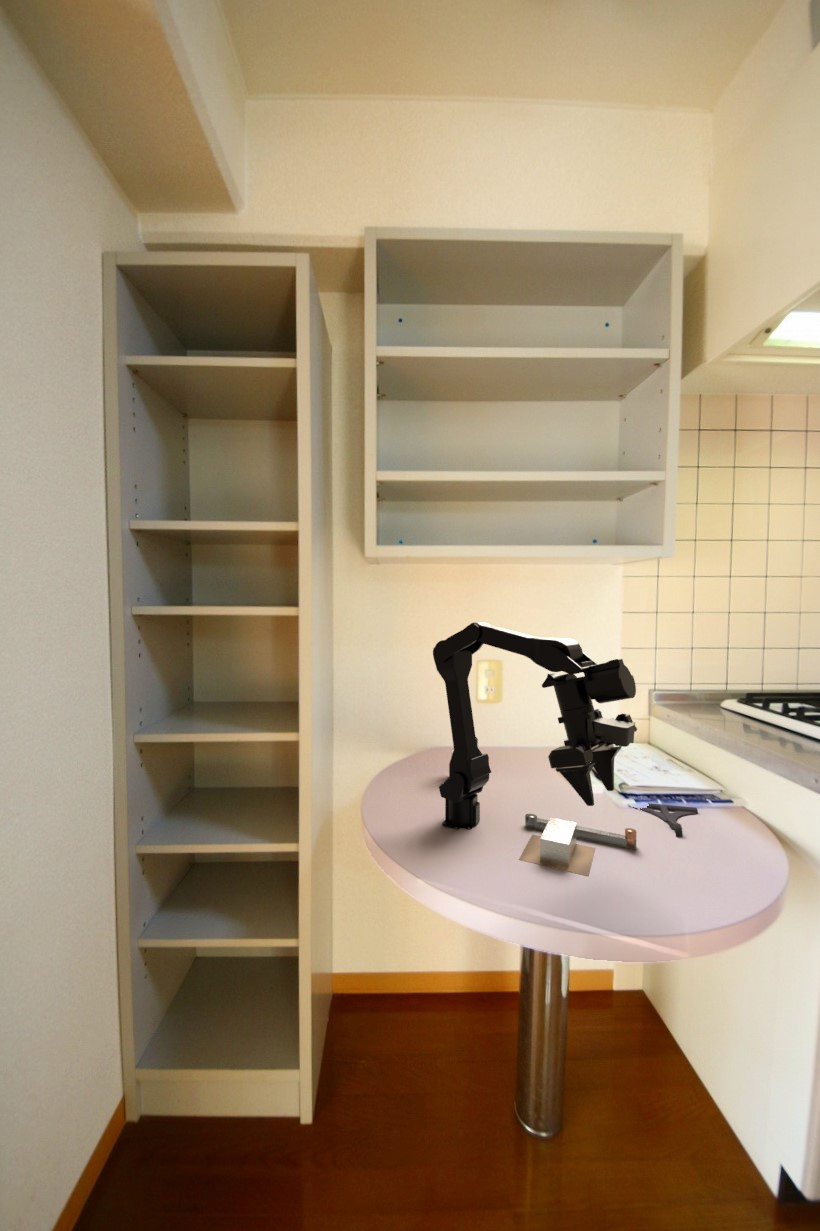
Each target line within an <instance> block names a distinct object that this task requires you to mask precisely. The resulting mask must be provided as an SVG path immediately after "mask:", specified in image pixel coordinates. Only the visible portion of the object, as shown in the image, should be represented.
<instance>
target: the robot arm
mask: <svg viewBox="0 0 820 1231" xmlns="http://www.w3.org/2000/svg"><path fill="white" fill-rule="evenodd" d="M483 645H486V646H487V645H488V646H491V647H494V648H496V649H500V650H504V651H507V652H511V653H514V654H517V655H521V656H524V657H526V658H528V660H529V659H530V660H531V661H532V662H533V663H534V664H536V665H538V666H540V667H542V668H543V669H545V670H547V671H549V672H551V673H547V674H546V675H547V677H546V678H545V680H544V681H543V682H542V684H541V687H542V688H543V689H546V688H550V687H553V689H554V693H555V696H556V699H557V703H558V704H557V705H558V707H559V710H560V715H561V716H559V717H557V721H558V724H563V725H564V726H563V727H564V730H565V734H566V738H567V739H566V740H564V741H563V744H564V745H563V746H559V747H556V748H554V749H553V750H551V751H550V753H549V754H548V758H547V759H548V761H549V764H550V768H551V769H555V770H556V772H557V773H559V774H560V775H562V777H563V778H564V779H565V781H567V782H568V783H569V785H570V786H571V787H572V789H573V790H574V791H575V792H576V794H578V796H579V797H580V798H581V799H582V800H583V802H584V804H585V805H586V806H587V807H593V806H594V805H595V799H594V798H595V797H594V792H593V786H592V777H591V771H592V769H594V770H595V772H596V774H597V775H598V778H599V779H600V781H601V783H602V784H603V786H604V788H605V789H606V791H607V792H613V791H614V790H615V758H616V756H617V754H618V753H619V752H620V750H622V747H628V746H630V744H633V743H634V741H635V732H637V731H638V727H637V726H636V722H635V721H633V719H632V717H631V714H628V713H624V712H621V713H619V714H617V715H616V717H615V718H613V717H611V718H608V717H607V718H606V717H603V714H602V711H601V710H599V708H596V709H595V707H594V705H593V700H594V701H595V702H597V703H598V704H606V703H611V702H618V701H622V700H623V701H624V700H630V699H633V698H635V696H636V694H637V687H636V681H635V678H634V675H633V674H632V673H631V671H630V669H629V668H628V666H626V665H625V663H624V661H623V660H624V659H623V658H621V657H620V658H619V657H618V658H615V659H614V658H613V659H611V660H609V661H606V662H603V663H599V664H598V663H597V662H596V661H595V660H594V659H592V658H591V657H590V656H589V655H588V654H586V653H585V652H583V649H582V646H581V645H580V643H579V642H578V641H577V640H576V639H574V638H573V639H572V638H565V637H564V638H562V637H545V636H544V637H543V636H534V635H531V634H526V633H522V632H520V631H515V630H511V629H508V628H504V627H502V626H501V627H499V626H496V625H493V624H489V623H488V622H486V621H485V622H482V621H480V622H478V621H477V622H471V623H470V624H469V625H467V626H466V627H464V628H463V629H462V630H460V631H458V632H455V633H454V634H452V635H451V636H449V637H447V638H446V639H443V640H439V641H438V642H437V643H436V644H435V646H434V647H433V648H432V649H433V650H432V656H433V661H434V664H435V667H436V668H435V669H436V672H437V673H438V674H439V676H440V677H441V678H442V679H443V681H444V684H445V692H446V699H447V700H446V701H447V708H448V716H449V722H450V730H451V737H452V744H453V745H452V746H453V750H454V751H453V754H452V757H451V756H450V757H451V758H450V759H449V760H450V761H449V764H448V765H449V766H448V768H449V769H448V778H447V779H445V781H444V782H443V783H441V785H439V786H438V790H439V793H440V794H439V795H440V798H443V799H444V800H445V804H444V805H445V806H444V807H445V809H444V810H445V815H444V816H445V817H444V820H443V821H442V822H441V823H442V824H441V825H442V826H443V827H448V828H453V829H457V830H460V829H463V830H472V829H473V828H474V827H476V826H477V825H478V824H479V822H480V821H481V820H480V819H481V803H480V802H479V801H478V800H479V799H478V798H479V797H478V795H479V793H482V792H483V789H484V786H486V784H487V783H488V782H489V780H490V774H491V773H492V770H491V768H490V762H489V761H490V757H489V754H488V753H482V751H481V749H479V746H478V747H477V744H476V737H477V736H476V731H475V724H474V723H475V722H474V716H473V708H472V701H471V693H470V687H469V686H470V685H469V676H470V674H471V673H470V672H471V669H472V667H473V655H474V654H476V653H477V652H478V651H479V650H481V648H482V647H483ZM560 672H563V673H564V674H560V675H558V674H556V673H560ZM581 673H582V674H583V675H584V676H579V677H577V676H576V674H581Z"/></svg>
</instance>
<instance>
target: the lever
mask: <svg viewBox="0 0 820 1231" xmlns="http://www.w3.org/2000/svg"><path fill="white" fill-rule="evenodd" d="M524 815H525V816H524V820H525V822H524V826H525V828H526V829H528V830H536V831H542V832H544V830H545V828H546V826H547V824H548V822H549V820H550V819H544V818H540V817H539V818H538V816H537V815H536V814H535V813H526V814H524ZM577 839H579V840H584V841H589V842H590V841H591V842H593V843H598V844H599V843H600V844H604V845H607V846H608V845H609V846H613V847H618V848H623V849H628V850H632V851H636V850H637V830H636V829H635V828H632V827H631V828H630V827H628V828H627V827H626V828H624V834H619V833H616V832H610V831H604V830H601V829H595V828H589V827H584V826H579V825H577Z"/></svg>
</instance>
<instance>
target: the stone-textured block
mask: <svg viewBox="0 0 820 1231" xmlns="http://www.w3.org/2000/svg"><path fill="white" fill-rule="evenodd" d="M548 820H549V822H548V824H547V826H546V828H545V830H544V831H542V834H541V838H540V860H541V861H545V862H549V863H554V864H558V865H562V866H566V867H569V864H570V861H571V858H572V855H573V852H574V849H575V846H576V844H578V843H577V842H578V841H577V839H578V838H577V826H578V823H577V822H576V821H572V820H566V819H563V818H562V819H561V818H555V817H550V818H549V819H548Z"/></svg>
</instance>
